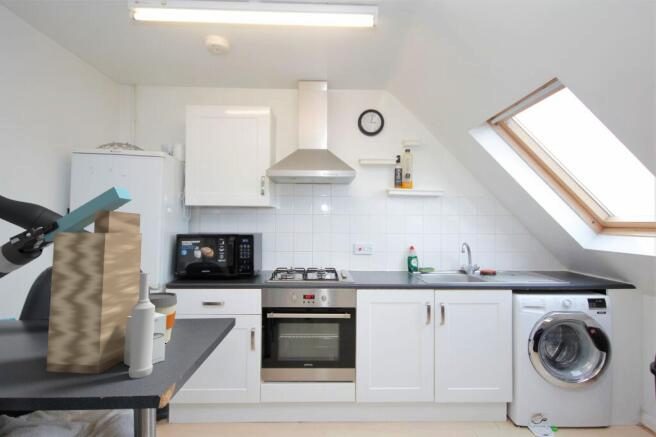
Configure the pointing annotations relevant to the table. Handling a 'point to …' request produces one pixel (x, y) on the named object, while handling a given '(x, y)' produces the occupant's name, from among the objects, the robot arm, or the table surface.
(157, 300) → the reusable coffee cup
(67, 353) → the brown tall stepped block
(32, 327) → the table surface
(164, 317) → the supplement box
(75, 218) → the long light blue beam
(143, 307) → the bottle
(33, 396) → the table surface
